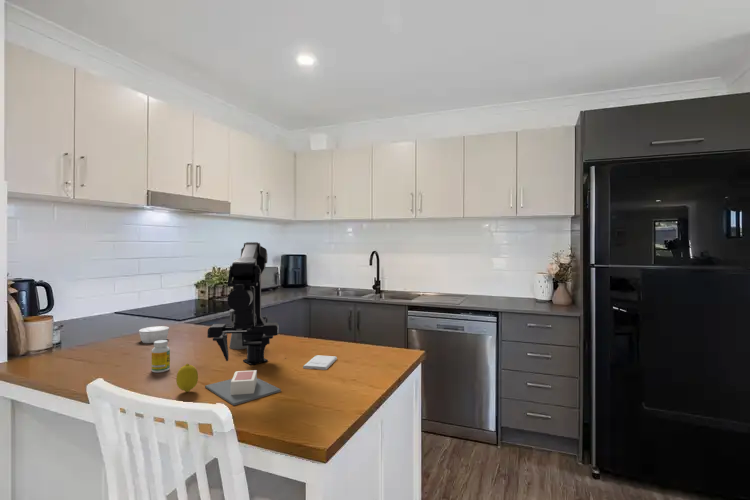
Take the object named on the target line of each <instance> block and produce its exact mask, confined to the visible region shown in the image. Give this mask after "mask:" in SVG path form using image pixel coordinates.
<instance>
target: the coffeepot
mask: <svg viewBox="0 0 750 500" xmlns="http://www.w3.org/2000/svg"><path fill="white" fill-rule="evenodd" d="M232 311H234V310H233V309H231V308H230V309H229V316H230V317H229V318H230V323H231V327H234V322H232V320H231V319H232ZM237 330H241V329H237ZM230 334H231V336H230V341H229V348H230V349H232V350H247V346H242V333H230Z"/></svg>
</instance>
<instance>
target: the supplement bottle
mask: <svg viewBox="0 0 750 500" xmlns="http://www.w3.org/2000/svg"><path fill="white" fill-rule="evenodd" d="M168 343H169V342H168V340H167V339H166V340H159V341H155V342H154V343H153V348H152V349H151V354H150V355H151V365H150V366H151V368H150V370H151V372H152V373H159V374H160V373H164V372H165V373H166V372H167V371H169V370H170V368H171V349H170V347H169V346H168Z"/></svg>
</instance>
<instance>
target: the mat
mask: <svg viewBox="0 0 750 500" xmlns="http://www.w3.org/2000/svg"><path fill="white" fill-rule="evenodd" d="M231 380H232V378H229V379H226V380H221V381H218V382H214V383H209V384H207V385H206V384H205V385H204V387H205V389H207V390H208V391H210V392H212V393H213V394H215V395H216V396H218V397H219V398H221V399H222V400H224V401H226V402H227V403H229V404H230V405H232V406H237V405H240V404H244V403H247V402H250V401H254V400H258V399H261V398H263V397H267V396H270V395H274V394H277V393H281V392H282V389H281V388H279V387H277V386H275V385H273V384H271V383H268V382H267V381H264V380H262V379H261V378H258V377H257V383H256V387H255V390H254V393H252V394H238V395H231Z"/></svg>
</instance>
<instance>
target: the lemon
mask: <svg viewBox="0 0 750 500" xmlns="http://www.w3.org/2000/svg"><path fill="white" fill-rule="evenodd" d="M175 381H176V385H177V387H178V388H179V389H180V390H182V391H184V392H185V393H189V392H190V391H191V390H193V389H194V388H195V387H196V386H197V384H198V381H199V373H198V370H197V368H196V366H194V365H192V364H189V363H186V364H185V365H183V366H181V367H180V368H179V369H178V371H177V374H176V380H175Z"/></svg>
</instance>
